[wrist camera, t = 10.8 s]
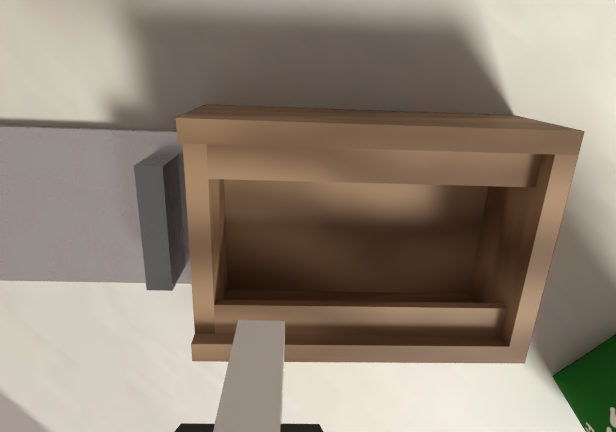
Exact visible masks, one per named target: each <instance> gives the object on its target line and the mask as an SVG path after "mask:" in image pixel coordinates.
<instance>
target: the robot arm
mask: <svg viewBox="0 0 616 432" xmlns="http://www.w3.org/2000/svg"><path fill="white" fill-rule="evenodd" d="M284 344H285V321H264V320H238V323H237V327H236V332H235V336H234V341H233V345H232V350H231V354H230V359H229V363H228V368H227V372H226V376H225V381H224V385H223V390H222V394H221V399H220V403H219V408H218V412H217V416H216V421H215V424H180V426H179V427H178V428H177V429H176V431H175V432H323V430H322V429H321V427H320V425H319V424H282V406H283V381H284Z"/></svg>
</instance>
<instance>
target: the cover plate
mask: <svg viewBox="0 0 616 432" xmlns="http://www.w3.org/2000/svg"><path fill="white" fill-rule="evenodd" d="M0 280H7V281H66V282H126V283H146V287H147V290H173V289H174V287H175V285H176V283H185V284H192V279H191V264H190V249H189V233H188V218H187V203H186V187H185V172H184V157H183V144H182V143H177V132H176V131H157V130H127V129H97V128H67V127H38V126H8V125H0Z"/></svg>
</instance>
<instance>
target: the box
mask: <svg viewBox="0 0 616 432" xmlns="http://www.w3.org/2000/svg"><path fill="white" fill-rule="evenodd" d="M176 132H177V143H182V144H183V157H184V172H185V187H186V203H187V218H188V233H189V249H190V264H191V279H192V294H193V310H194V325H195V335H194V338H193V341H192V344H191V347H192V361H229V359H230V354H231V350H232V345H233V341H234V336H235V332H236V327H237V323H238V320H264V321H285V344H284V362H399V363H525V360H526V356H527V352H528V348H529V345H530V341H531V337H532V333H533V329H534V325H535V321H536V317H537V314H538V310H539V306H540V302H541V298H542V294H543V290H544V286H545V283H546V279H547V275H548V271H549V267H550V263H551V259H552V255H553V252H554V248H555V244H556V240H557V236H558V232H559V228H560V224H561V221H562V217H563V213H564V209H565V205H566V201H567V197H568V193H569V190H570V186H571V182H572V178H573V174H574V170H575V166H576V162H577V159H578V155H579V151H580V147H581V143H582V139H583V135H584V131H581V130H577V129H572V128H568V127H563V126H559V125H555V124H550V123H546V122H541V121H537V120H533V119H528V118H524V117H519V116H515V115H490V114H460V113H431V112H401V111H372V110H342V109H313V108H283V107H254V106H224V105H203V106H201V107H199V108H197V109H194V110H192V111H190V112H188V113H186V114H183V115H181V116H179V117H177V118H176Z"/></svg>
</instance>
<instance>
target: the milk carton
mask: <svg viewBox="0 0 616 432" xmlns="http://www.w3.org/2000/svg"><path fill="white" fill-rule="evenodd" d="M553 378H554V380H555V381H556V383H557V385H558V386H559V388H560V390H561V391H562V393H563V395H564V396H565V398H566V400H567V401H568V403H569V405H570V406H571V408H572V410H573V411H574V413H575V415H576V416H577V418H578V419H579V421H580V423H581V424H582V426H583V428H584V429H585V431H586V432H616V335H615V336H613V337H612V338H610V339H609V340H607V341H606V342H604V343H603V344H601V345H600V346H598V347H597V348H595V349H594V350H592V351H591V352H589V353H588V354H586V355H585V356H583V357H582V358H580V359H579V360H577V361H576V362H574V363H572V364H571V365H569V366H568V367H566V368H565V369H563V370H562V371H560V372H559V373H557V374H556V375H554V376H553Z"/></svg>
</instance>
